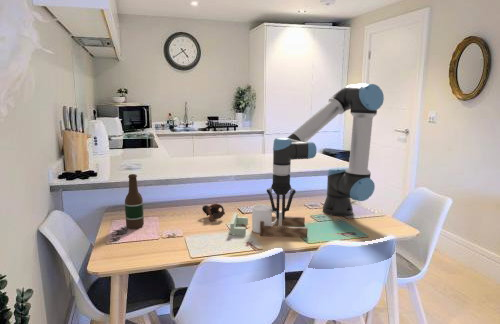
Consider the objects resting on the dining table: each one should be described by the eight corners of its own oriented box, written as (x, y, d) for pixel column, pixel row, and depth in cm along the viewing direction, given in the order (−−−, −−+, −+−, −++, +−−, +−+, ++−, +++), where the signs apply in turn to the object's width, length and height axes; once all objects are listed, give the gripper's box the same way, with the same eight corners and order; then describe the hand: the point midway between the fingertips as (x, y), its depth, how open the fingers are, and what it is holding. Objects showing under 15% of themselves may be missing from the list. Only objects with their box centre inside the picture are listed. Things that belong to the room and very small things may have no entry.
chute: (304, 225, 166) (304, 212, 165) (307, 237, 151) (307, 224, 150) (261, 223, 167) (261, 211, 166) (260, 235, 153) (260, 222, 152)
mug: (281, 231, 158) (282, 207, 156) (257, 235, 153) (257, 211, 151) (272, 224, 166) (272, 202, 164) (248, 228, 161) (249, 205, 159)
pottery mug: (227, 216, 179) (228, 205, 173) (219, 230, 172) (220, 218, 166) (205, 208, 181) (206, 197, 176) (196, 221, 174) (197, 210, 169)
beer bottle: (127, 230, 157) (124, 177, 153) (124, 224, 164) (121, 173, 160) (145, 227, 161) (143, 175, 156) (142, 222, 168) (139, 172, 163)
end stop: (247, 223, 168) (247, 213, 167) (245, 235, 153) (245, 224, 152) (234, 222, 168) (234, 212, 167) (230, 234, 153) (230, 223, 153)
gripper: (295, 172, 158) (294, 223, 162) (266, 171, 159) (265, 222, 163) (297, 175, 151) (295, 229, 155) (266, 175, 151) (265, 228, 155)
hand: (280, 225), depth 159 cm, fingers closed
